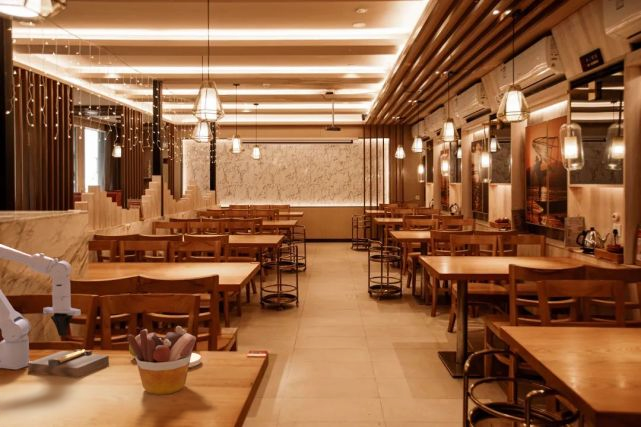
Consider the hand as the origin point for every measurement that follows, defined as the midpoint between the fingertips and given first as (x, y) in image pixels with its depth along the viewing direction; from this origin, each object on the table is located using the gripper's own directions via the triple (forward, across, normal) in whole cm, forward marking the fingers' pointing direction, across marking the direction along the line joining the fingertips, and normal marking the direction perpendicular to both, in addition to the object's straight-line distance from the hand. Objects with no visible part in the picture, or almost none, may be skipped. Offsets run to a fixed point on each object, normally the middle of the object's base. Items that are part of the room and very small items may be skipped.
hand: (62, 335), depth 194 cm
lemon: (+10, +21, +13) cm, 27 cm away
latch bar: (+7, +6, -3) cm, 9 cm away
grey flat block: (+10, +6, -4) cm, 12 cm away
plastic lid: (+10, +40, +11) cm, 43 cm away
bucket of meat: (+10, +49, -12) cm, 51 cm away
